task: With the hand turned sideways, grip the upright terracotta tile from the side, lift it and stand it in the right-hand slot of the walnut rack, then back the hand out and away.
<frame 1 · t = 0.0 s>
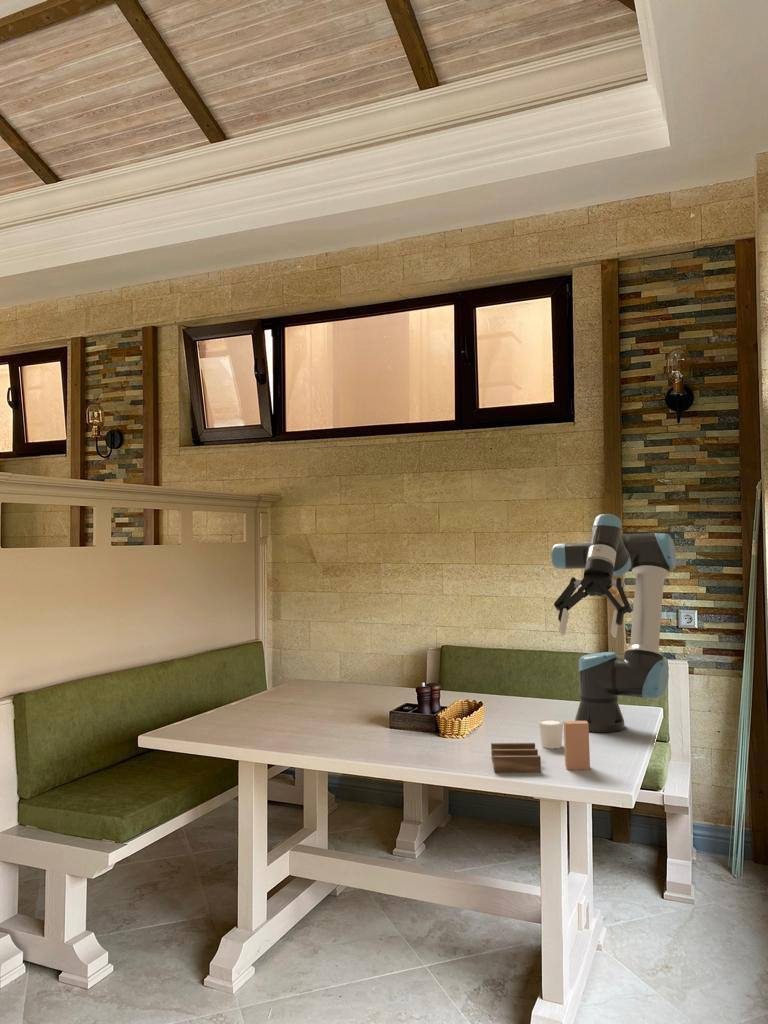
hand: (587, 633, 202), 36 cm above the table, tool tilted 35°, fingers open, 13 cm apart
rack: (515, 764, 211), on the table
tile: (577, 767, 207), on the table
white cup: (551, 746, 228), on the table
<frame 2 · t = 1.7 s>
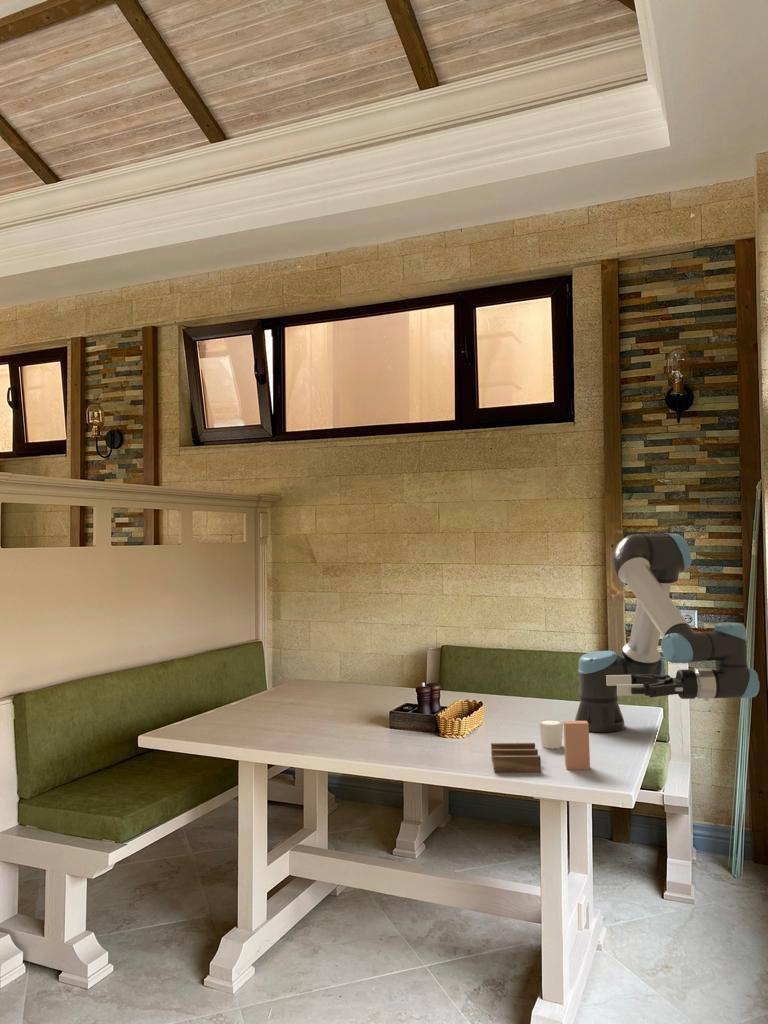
hand: (611, 685, 207), 22 cm above the table, tool horizontal, fingers open, 13 cm apart
nothing on the table moved.
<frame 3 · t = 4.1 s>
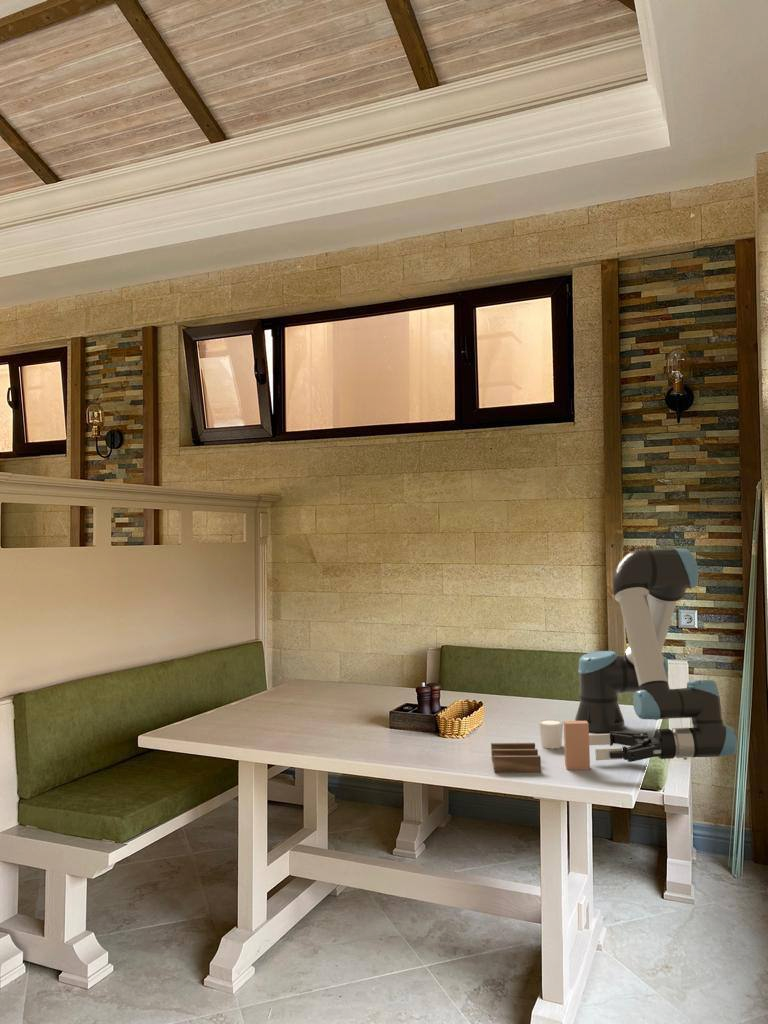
hand: (590, 747, 206), 6 cm above the table, tool horizontal, fingers open, 13 cm apart
nothing on the table moved.
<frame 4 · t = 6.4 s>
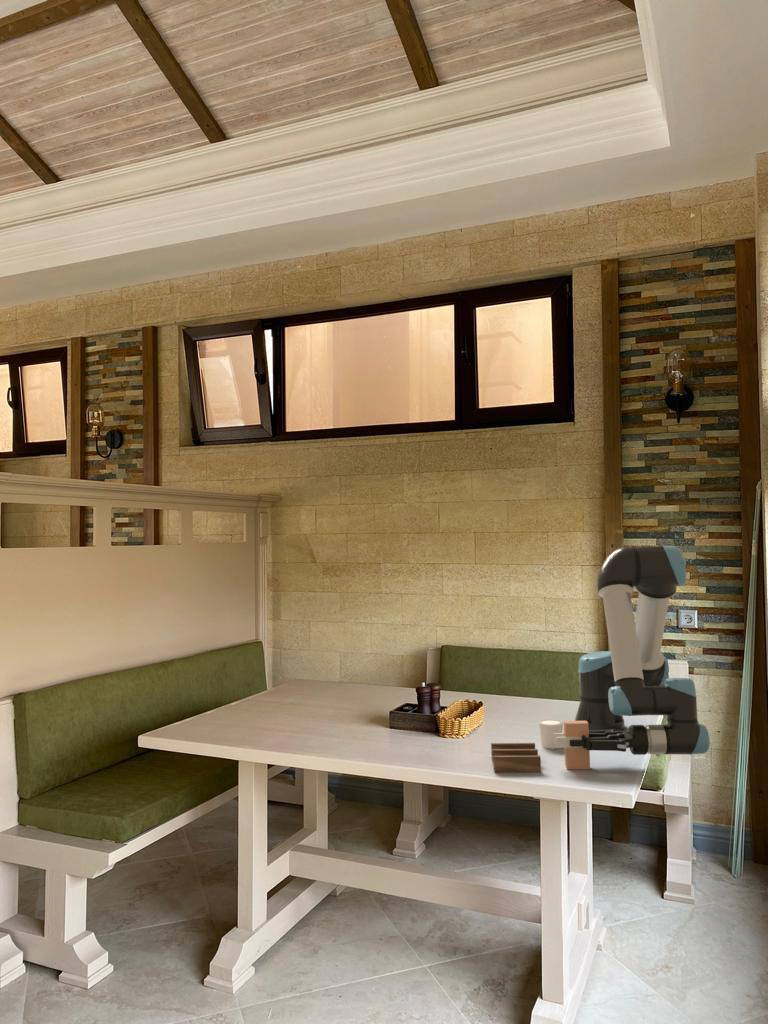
hand: (555, 740, 207), 7 cm above the table, tool horizontal, fingers closed on tile, 3 cm apart
tile: (577, 767, 207), on the table, touching gripper
everything else where it was.
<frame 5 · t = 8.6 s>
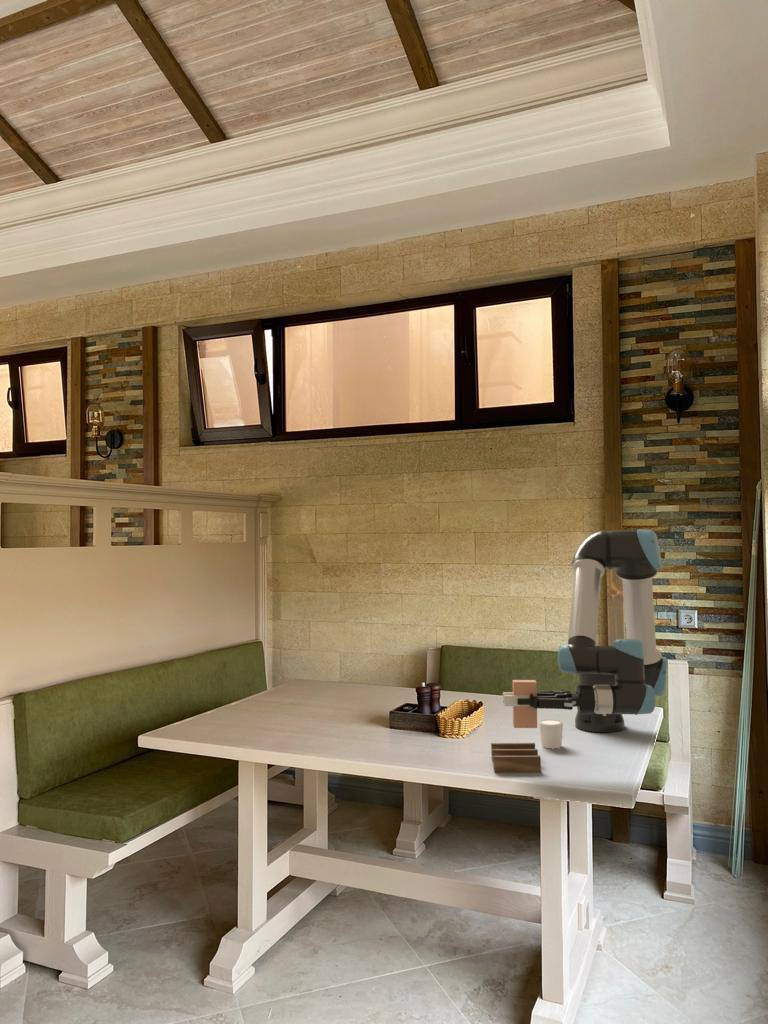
hand: (503, 699, 208), 18 cm above the table, tool horizontal, fingers closed on tile, 3 cm apart
tile: (525, 726, 207), point 11 cm above the table, touching gripper
everything else where it was.
when the fingers open (9 cm above the table, at t = 11.0 s): tile drops 1 cm, resting on rack.
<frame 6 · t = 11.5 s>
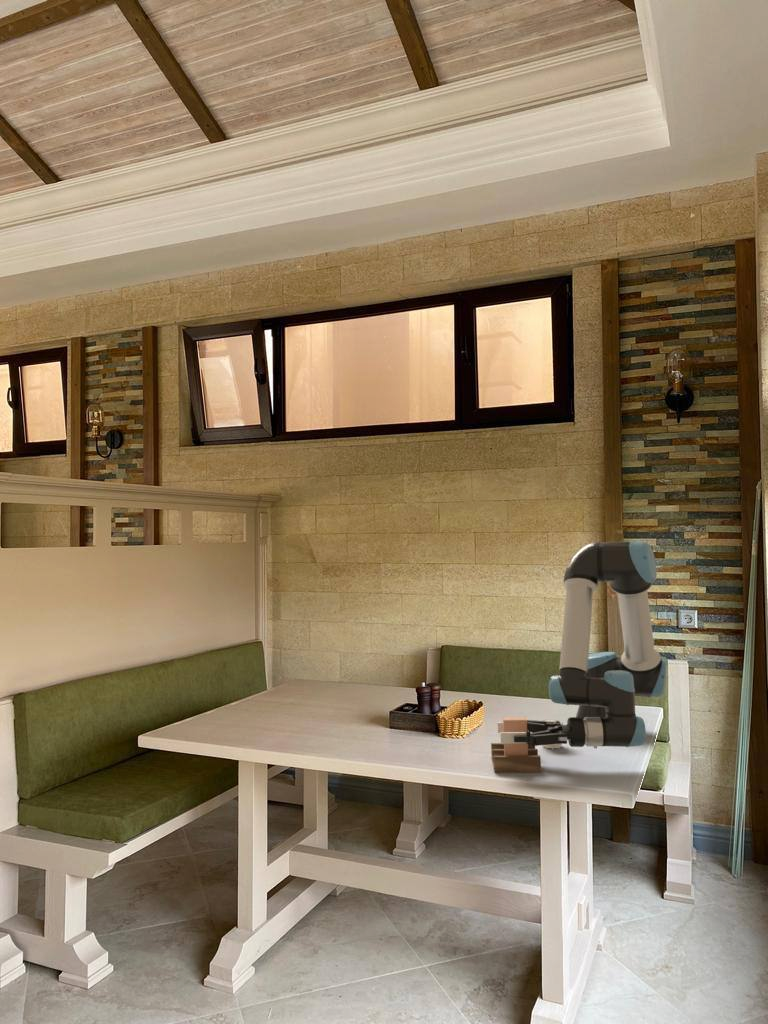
hand: (499, 732, 209), 9 cm above the table, tool horizontal, fingers open, 10 cm apart
tile: (516, 764, 208), point 1 cm above the table, touching rack
everything else where it was.
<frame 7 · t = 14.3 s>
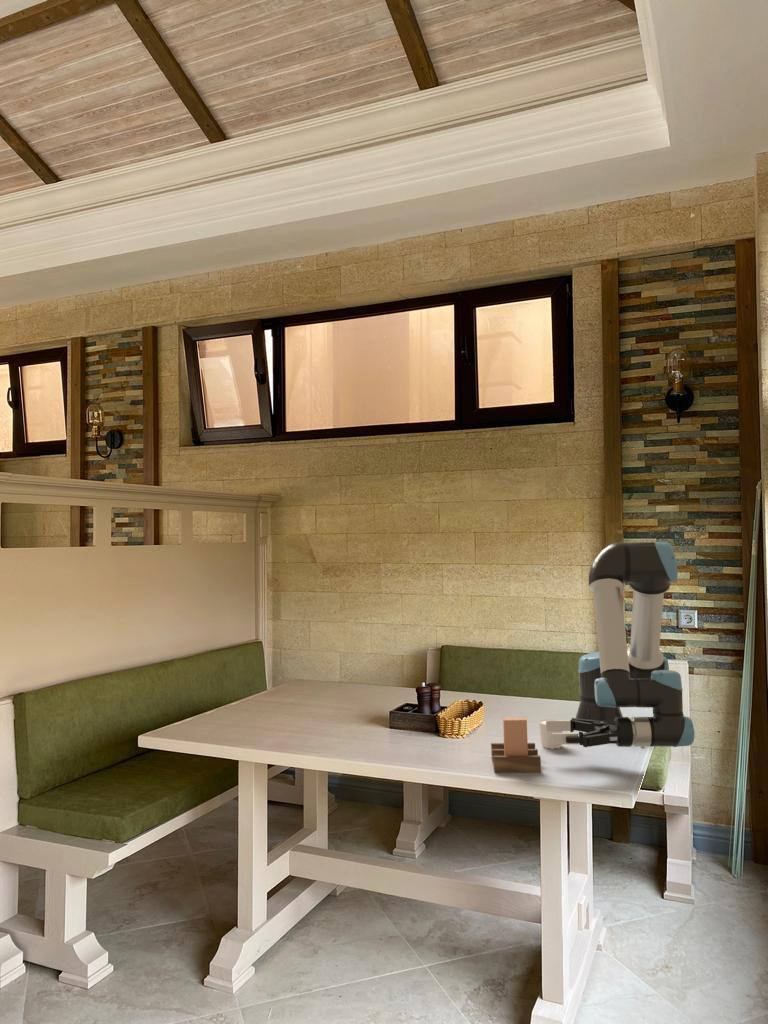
hand: (549, 732, 208), 9 cm above the table, tool horizontal, fingers open, 13 cm apart
nothing on the table moved.
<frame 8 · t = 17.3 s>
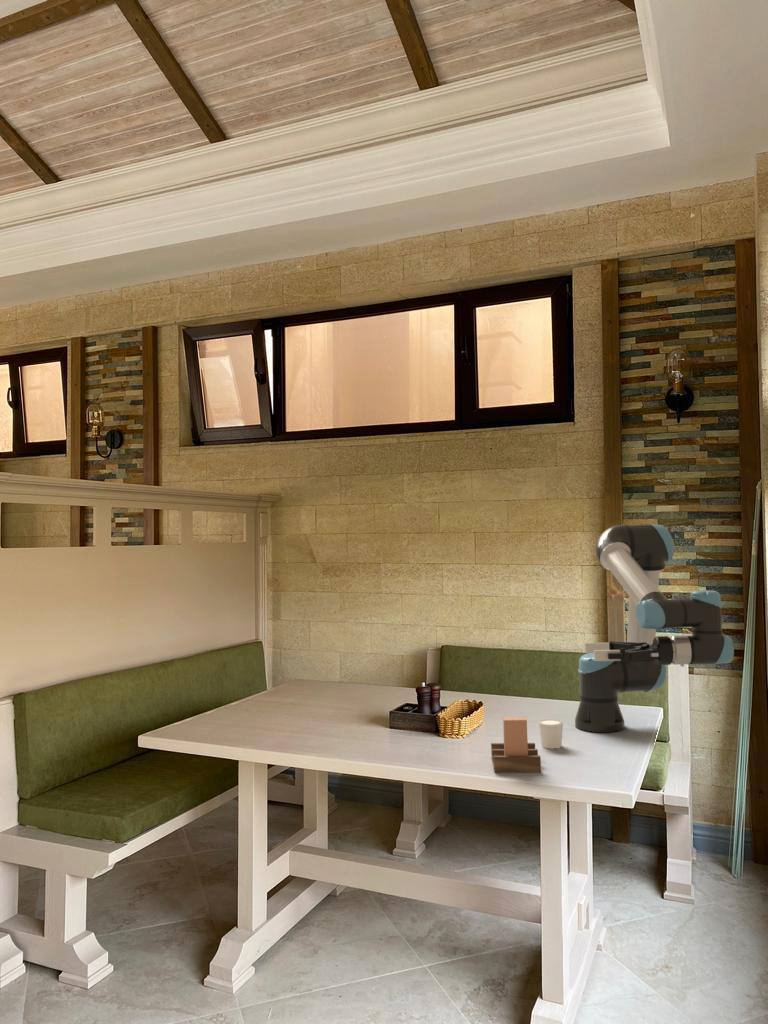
hand: (589, 651, 210), 30 cm above the table, tool horizontal, fingers open, 13 cm apart
nothing on the table moved.
at the end: tile inside the target area on the rack (0.0 cm from its centre), point 1.0 cm above the rack's base; tile tilted 0°; the gripper is holding nothing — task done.
